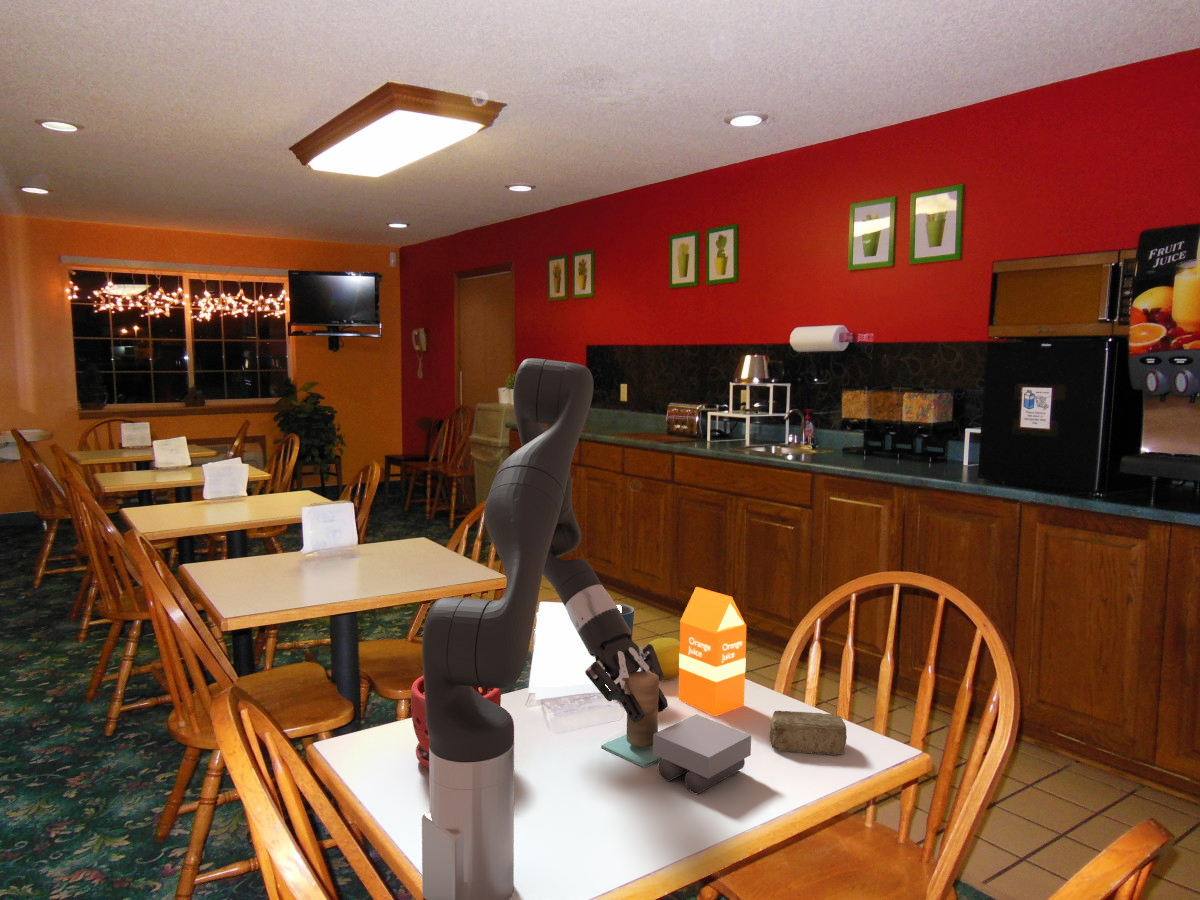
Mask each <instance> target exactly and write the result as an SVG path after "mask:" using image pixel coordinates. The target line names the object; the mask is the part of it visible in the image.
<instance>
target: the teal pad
mask: <svg viewBox="0 0 1200 900" xmlns="http://www.w3.org/2000/svg"><path fill="white" fill-rule="evenodd" d="M600 748H601V749H602V750H605V751H607V752H609V753H612V754H614V755H616V756H619V757H620V758H623V759H625V760H627V761H629V762H631V763H633V764H635V765H638V766H639V767H642V768H644V769H646V768H647V767H650V766H651V765H653V764H656V763H657V762H659V761H660V760H662V759H663V758H661V757H659V756H656V755H654V754H653V745H652V746H647V747H640V746H635V745H632V744H630V743H628V742H627V733H626V734H623V735H621V736H619V737H617V738H614V739H612V740H610V741H608V742H605V743H603V744H601V745H600Z"/></svg>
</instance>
